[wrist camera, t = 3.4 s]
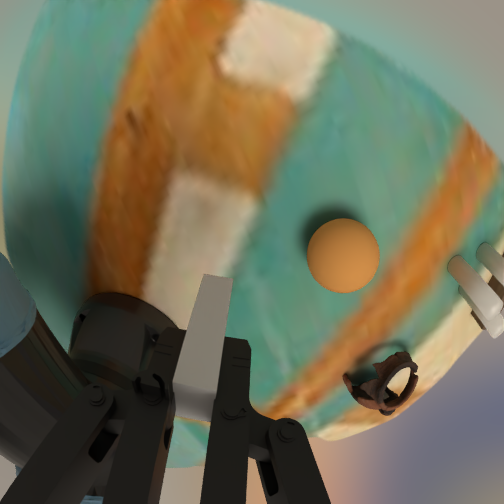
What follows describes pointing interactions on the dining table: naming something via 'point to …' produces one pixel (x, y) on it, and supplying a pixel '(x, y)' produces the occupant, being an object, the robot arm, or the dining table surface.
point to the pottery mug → (385, 385)
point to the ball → (343, 255)
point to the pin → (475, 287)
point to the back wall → (499, 289)
